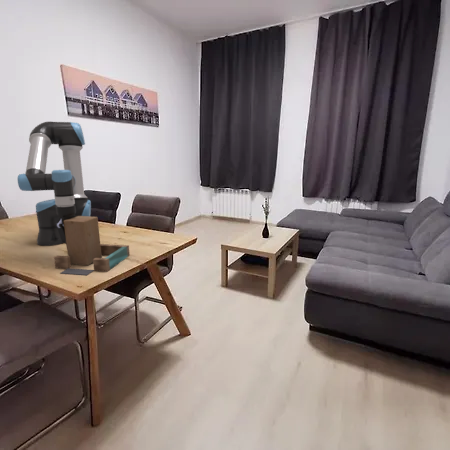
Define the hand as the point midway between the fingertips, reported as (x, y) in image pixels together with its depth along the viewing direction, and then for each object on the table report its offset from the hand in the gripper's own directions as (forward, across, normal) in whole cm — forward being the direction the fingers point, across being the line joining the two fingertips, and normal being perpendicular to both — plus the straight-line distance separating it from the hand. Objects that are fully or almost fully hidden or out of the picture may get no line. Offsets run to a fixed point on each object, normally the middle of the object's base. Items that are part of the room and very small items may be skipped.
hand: (72, 255), depth 132 cm
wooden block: (+2, 0, -6) cm, 7 cm away
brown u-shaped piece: (+2, 0, -10) cm, 10 cm away
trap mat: (+2, -12, -11) cm, 17 cm away
